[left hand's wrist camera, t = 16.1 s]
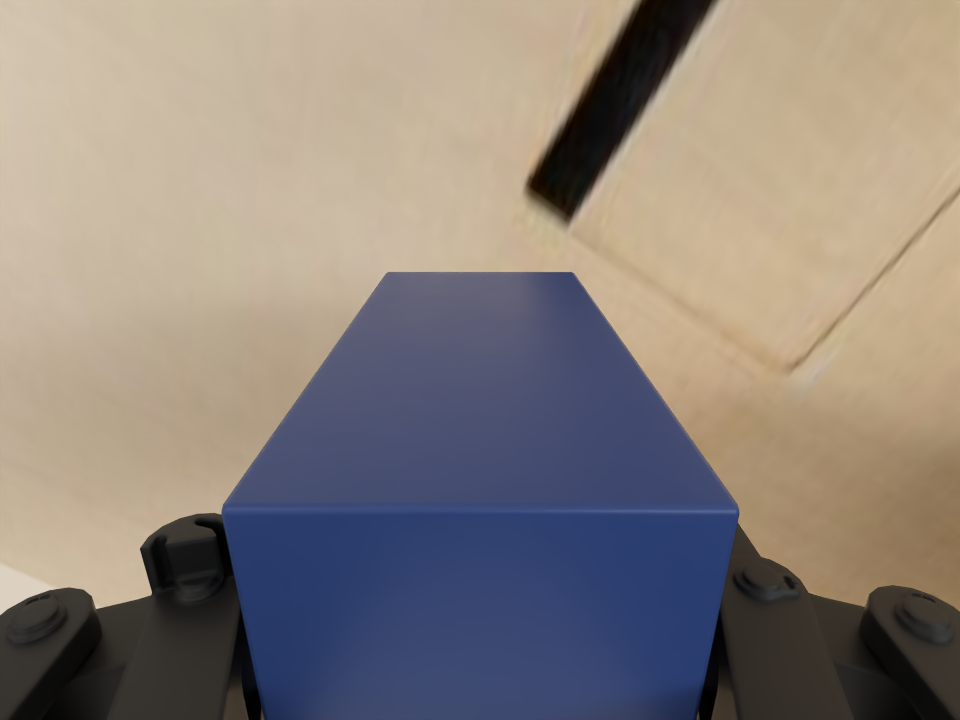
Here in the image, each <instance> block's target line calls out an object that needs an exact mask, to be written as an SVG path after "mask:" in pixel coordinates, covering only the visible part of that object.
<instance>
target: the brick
mask: <svg viewBox="0 0 960 720" xmlns="http://www.w3.org/2000/svg"><path fill="white" fill-rule="evenodd" d="M738 517H739V508H738V505H737V503H736V502H735V500H734V499H733V498H732V496H731V495H730V493H729V492H728V490H727V489H726V488H725V486H724V485H723V483H722V482H721V481H720V479H719V478H718V476H717V475H716V474H715V472H714V471H713V469H712V468H711V466H710V465H709V464H708V462H707V461H706V459H705V458H704V457H703V455H702V454H701V452H700V451H699V449H698V448H697V447H696V445H695V444H694V442H693V441H692V440H691V438H690V437H689V435H688V434H687V432H686V431H685V430H684V428H683V427H682V425H681V424H680V423H679V421H678V420H677V418H676V417H675V416H674V414H673V413H672V411H671V410H670V408H669V407H668V406H667V404H666V403H665V401H664V400H663V399H662V397H661V396H660V394H659V393H658V391H657V390H656V389H655V387H654V386H653V384H652V383H651V382H650V380H649V379H648V377H647V376H646V375H645V373H644V372H643V370H642V369H641V367H640V366H639V365H638V363H637V362H636V360H635V359H634V358H633V356H632V355H631V353H630V352H629V350H628V349H627V348H626V346H625V345H624V343H623V342H622V341H621V339H620V338H619V336H618V335H617V333H616V332H615V331H614V329H613V328H612V326H611V325H610V324H609V322H608V321H607V319H606V318H605V317H604V315H603V314H602V312H601V311H600V309H599V308H598V307H597V305H596V304H595V302H594V301H593V300H592V298H591V297H590V295H589V294H588V292H587V291H586V290H585V288H584V287H583V285H582V284H581V283H580V281H579V280H578V278H577V277H576V276H575V274H574V273H572V272H388V273H386V274H385V276H384V277H383V279H382V280H381V282H380V283H379V284H378V286H377V287H376V289H375V290H374V291H373V293H372V294H371V296H370V297H369V299H368V300H367V301H366V303H365V304H364V306H363V307H362V309H361V310H360V311H359V313H358V314H357V316H356V317H355V318H354V320H353V321H352V323H351V324H350V326H349V327H348V328H347V330H346V331H345V333H344V334H343V335H342V337H341V338H340V340H339V341H338V343H337V344H336V345H335V347H334V348H333V350H332V351H331V352H330V354H329V355H328V357H327V358H326V360H325V361H324V362H323V364H322V365H321V367H320V368H319V369H318V371H317V372H316V374H315V375H314V377H313V378H312V379H311V381H310V382H309V384H308V385H307V387H306V388H305V389H304V391H303V392H302V394H301V395H300V396H299V398H298V399H297V401H296V402H295V404H294V405H293V406H292V408H291V409H290V411H289V412H288V413H287V415H286V416H285V418H284V419H283V421H282V422H281V423H280V425H279V426H278V428H277V429H276V430H275V432H274V433H273V435H272V436H271V438H270V439H269V440H268V442H267V443H266V445H265V446H264V447H263V449H262V450H261V452H260V453H259V455H258V456H257V457H256V459H255V460H254V462H253V463H252V465H251V466H250V467H249V469H248V470H247V472H246V473H245V474H244V476H243V477H242V479H241V480H240V482H239V483H238V484H237V486H236V487H235V489H234V490H233V491H232V493H231V494H230V496H229V497H228V499H227V500H226V501H225V503H224V504H223V507H222V519H223V524H224V528H225V533H226V538H227V543H228V548H229V553H230V557H231V562H232V567H233V572H234V577H235V581H236V586H237V591H238V596H239V601H240V606H241V610H242V615H243V620H244V625H245V630H246V635H247V639H248V644H249V649H250V654H251V659H252V664H253V668H254V673H255V678H256V683H257V688H258V693H259V697H260V702H261V707H262V712H263V717H264V720H697V715H698V710H699V705H700V700H701V695H702V691H703V686H704V681H705V676H706V671H707V667H708V662H709V657H710V652H711V647H712V643H713V638H714V633H715V628H716V623H717V618H718V614H719V609H720V604H721V599H722V594H723V590H724V585H725V580H726V575H727V570H728V565H729V561H730V556H731V551H732V546H733V541H734V537H735V532H736V527H737V522H738Z"/></svg>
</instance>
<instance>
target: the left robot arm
mask: <svg viewBox="0 0 960 720" xmlns="http://www.w3.org/2000/svg"><path fill="white" fill-rule="evenodd" d="M140 551H141V554H142V558H143V562H144V565H145V569H146V572H147V576H148V579H149V583H150V586H151V590H152V595H151V596H148V597H144V598H141V599H138V600H134V601H129V602H125V603H121V604H116V605H112V606H108V607H103V608H99V609H96V608H95V605H94V602H93V599H92V596H90V595H89V594H88V593H87V592H86V591H84V590H82V589H75V588H62V589H55V590H49V591H46V592H44V593H41V594H38V595H35V596H32V597H29V598H27V599H25V600H24V601H22V602H20V603H18V604H16V605H15V606H13V607H11V608H9V609H8V610H6V611H5V612H4V613H3V614H1V615H0V720H264V717H263V712H262V707H261V702H260V697H259V693H258V688H257V683H256V678H255V673H254V668H253V664H252V659H251V654H250V649H249V644H248V639H247V635H246V630H245V625H244V620H243V615H242V610H241V606H240V601H239V596H238V591H237V586H236V581H235V577H234V572H233V567H232V562H231V557H230V553H229V548H228V543H227V538H226V533H225V528H224V524H223V519H222V515H220V514H216V513H207V514H195V515H191V516H188V517H184V518H180V519H178V520H175V521H173V522H171V523H169V524H167V525H165V526H162V527H161V528H160V529H158V530H157V531H156V532H154V533H153V534H152V535H150V536H149V537H148V538H147V540H146V541H145V542H144V544H143V545H142V547H141V548H140ZM697 720H960V612H959V611H958V610H957V609H955V608H954V607H953V606H951V605H949V604H947V603H945V602H944V601H942V600H940V599H938V598H936V597H934V596H932V595H930V594H927V593H924V592H921V591H918V590H915V589H913V588H907V587H900V586H893V585H892V586H885V587H878V588H877V589H875V590H874V591H873V592H872V593H870V594H869V597H868V600H867V603H866V606H865V607H862V606H858V605H854V604H849V603H845V602H841V601H836V600H832V599H828V598H823V597H820V596H817V595H813V594H810V593H808V591H807V590H806V588H805V587H804V585H803V583H802V582H801V580H800V579H799V578H798V577H797V576H795V575H794V574H793V573H792V572H791V571H789V570H788V569H787V568H785V567H783V566H781V565H780V564H778V563H776V562H774V561H772V560H770V559H766V558H763V557H760V555H759V554H758V552H757V551H756V549H755V548H754V546H753V545H752V543H751V542H750V540H749V539H748V537H747V536H746V534H745V533H744V531H743V530H742V528H741V527H740V525H739V524H738V522H737V527H736V532H735V537H734V541H733V546H732V551H731V556H730V561H729V565H728V570H727V575H726V580H725V585H724V590H723V594H722V599H721V604H720V609H719V614H718V618H717V623H716V628H715V633H714V638H713V643H712V647H711V652H710V657H709V662H708V667H707V671H706V676H705V681H704V686H703V691H702V695H701V700H700V705H699V710H698V715H697Z"/></svg>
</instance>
